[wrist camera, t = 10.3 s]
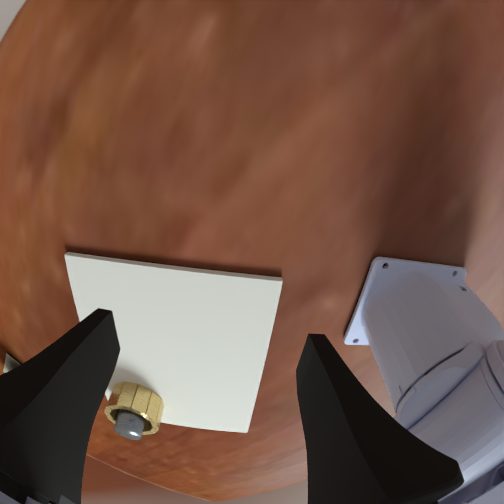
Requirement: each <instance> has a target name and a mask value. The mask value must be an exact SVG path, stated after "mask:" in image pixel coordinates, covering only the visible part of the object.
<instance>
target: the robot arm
mask: <svg viewBox="0 0 504 504" xmlns="http://www.w3.org/2000/svg"><path fill="white" fill-rule="evenodd" d="M385 263H387V264H386V266H384V267H382V266H383V264H385ZM453 272H454V273H453ZM466 274H467V271H466V269H465V268H463V267H457V266H450V265H442V264H434V263H426V262H419V261H411V260H403V259H395V258H387V257H376V258H375V259H374V260H373V261H372V263H371V266H370V269H369V272H368V275H367V278H366V281H365V284H364V287H363V289H362V292H361V295H360V298H359V300H358V303H357V306H356V308H355V311H354V313H353V316H352V319H351V321H350V324H349V326H348V329H347V331H346V333H345V336H344V339H343V340H344V343H345V344H346V345H370V347H371V350H372V352H373V355H374V357H375V360H376V362H377V365H378V367H379V370H380V372H381V375H382V377H383V380H384V382H385V385H386V388H387V390H388V393H389V396H390V398H391V401H392V404H393V406H394V409H395V412H396V416H395V417H394V418H393V417H391V416H390V415H389V414H388V413H387V412H386V411H385V410H384V409H383V408H382V407H381V406H380V405H379V404H378V403H377V402H376V401H375V400H374V399H373V398H372V396H371V395H370V394H369V393H368V392H367V391H366V389H365V388H364V387H363V386H362V385H361V383H360V382H359V381H358V380H357V378H356V377H355V376H354V374H353V373H352V372H351V371H350V369H349V368H348V367H347V365H346V364H345V363H344V361H343V360H342V358H341V357H340V356H339V354H338V353H337V351H336V350H335V348H334V347H333V346H332V344H331V343H330V341H329V340H328V338H327V337H326V336H325V334H308V337H307V340H306V343H305V346H304V349H303V352H302V355H301V358H300V361H299V363H298V366H297V369H296V379H297V395H298V401H299V407H300V413H301V418H302V424H303V430H304V435H305V441H306V449H307V465H308V504H504V332H503V329H502V326H501V324H500V322H499V321H498V319H497V318H496V317H495V316H494V315H493V313H492V312H491V311H490V310H489V309H488V308H487V306H486V305H485V304H484V303H483V302H482V301H481V300H480V298H479V297H478V296H477V295H476V294H475V293H474V292H473V291H472V290H471V289H470V288H469V286H468V285H467V284H466V283H465V282H464V279H465V276H466ZM354 339H355V340H354ZM119 353H120V345H119V340H118V336H117V331H116V327H115V322H114V317H113V312H112V311H111V310H106V309H101V308H98V309H96V310H95V311H93V312H92V313H91V314H90V315H88V316H87V317H86V318H85V319H83V320H82V321H81V322H80V323H78V324H77V325H76V326H75V327H73V328H72V329H71V330H69V331H68V332H67V333H66V334H64V335H63V336H62V337H61V338H59V339H58V340H57V341H55V342H54V343H53V344H51V345H50V346H48V347H47V348H46V349H44V350H43V351H42V352H40V353H39V354H37V355H36V356H34V357H33V358H31V359H30V360H28V361H26V362H25V363H23V364H21V365H20V366H18V367H16V368H14V369H12V370H10V371H8V372H6V373H4V374H2V375H0V504H49V503H50V504H81V488H82V477H83V469H84V462H85V456H86V451H87V446H88V441H89V437H90V433H91V429H92V425H93V422H94V419H95V416H96V414H97V411H98V409H99V406H100V404H101V401H102V399H103V397H104V394H105V392H106V390H107V387H108V385H109V382H110V380H111V378H112V375H113V373H114V370H115V367H116V363H117V360H118V356H119Z"/></svg>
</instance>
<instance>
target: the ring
mask: <svg viewBox="0 0 504 504" xmlns="http://www.w3.org/2000/svg"><path fill="white" fill-rule="evenodd" d="M120 409H124V410H129V411H132V412H135V413H137V414H139V415H142V416H143V417H145V418H146V421H145V424H144V428H143V432H142V434H143V435H144V434H145V435H147V434H154V433H156V432H157V431H158V430H159V427H160V422H161V418H162V414H163V409H164V403H163V400H162V398H161V397H160V396H159V395H157V394H156V393H155V392H154V391H153V390H151V389H149V388H147V387H144V386H142V385H140V384H139V385H138V384H137V383H131V382H120V383H116V384H115V385H114V387H113V389H112V392H111V395H110V397H109V400H108V403H107V405H106V408H105V411H104V412H105V414H106V416H107V417H108V419H109V420H110V421H112V422H113V423H114V424H115V423H116V420H117V417H118V413H119V410H120Z"/></svg>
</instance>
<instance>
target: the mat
mask: <svg viewBox="0 0 504 504" xmlns="http://www.w3.org/2000/svg"><path fill="white" fill-rule="evenodd" d="M65 260H66V265H67V270H68V275H69V280H70V284H71V289H72V293H73V297H74V301H75V305H76V309H77V313H78V316H79V320H80V322H81V321H82V320H83V319H85V318H86V317H87V316H88V315H90V314H91V313H92V312H93V311H95V310H96V309H98V308H101V309H106V310H111V311H112V312H113V317H114V322H115V327H116V331H117V336H118V340H119V345H120V353H119V356H118V360H117V363H116V367H115V370H114V373H113V375H112V378H111V380H110V382H109V385H108V387H107V390H106V392H105V395H106V397H107V400H109V397H110V395H111V392H112V389H113V387H114V385H115V384H116V383H120V382H131V383H137V384H138V385H139V384H140V385H142V386H144V387H147V388H149V389H151V390H153V391H154V392H155V393H156V394H157V395H159V396H160V397H161V398H162V400H163V403H164V409H163V414H162V418H161V422H162V423H168V424H174V425H180V426H187V427H194V428H202V429H210V430H220V431H231V432H245V433H247V432H248V428H249V424H250V420H251V416H252V412H253V408H254V404H255V400H256V396H257V392H258V388H259V384H260V380H261V376H262V372H263V368H264V363H265V359H266V355H267V351H268V346H269V342H270V338H271V333H272V329H273V324H274V320H275V315H276V311H277V306H278V301H279V297H280V292H281V287H282V282H283V280H282V277H272V276H262V275H253V274H243V273H234V272H225V271H216V270H207V269H198V268H189V267H181V266H172V265H164V264H156V263H148V262H140V261H132V260H124V259H116V258H109V257H101V256H94V255H87V254H80V253H73V252H67V253H66V254H65Z"/></svg>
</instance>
